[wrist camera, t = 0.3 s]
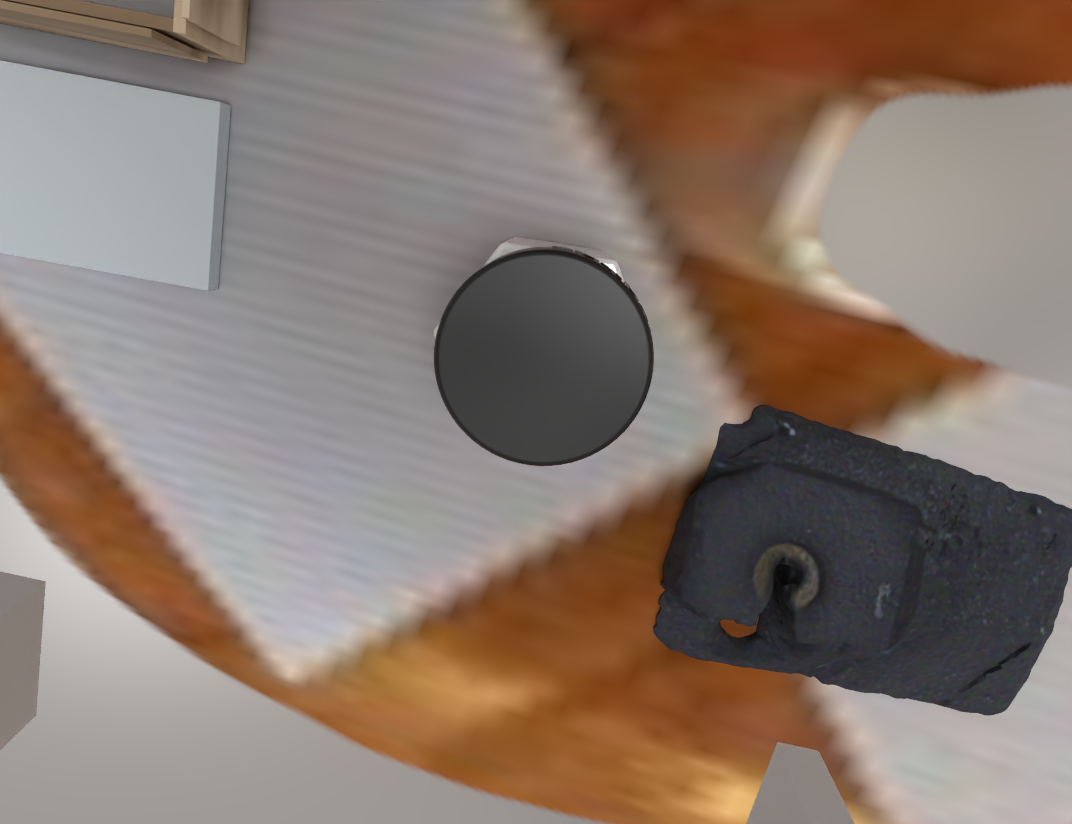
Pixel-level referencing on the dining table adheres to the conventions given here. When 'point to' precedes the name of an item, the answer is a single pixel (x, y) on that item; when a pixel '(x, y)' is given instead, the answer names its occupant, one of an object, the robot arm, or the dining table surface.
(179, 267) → the tile
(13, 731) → the robot arm
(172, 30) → the carton
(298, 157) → the dining table surface
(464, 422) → the jar
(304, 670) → the dining table surface
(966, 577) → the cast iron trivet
